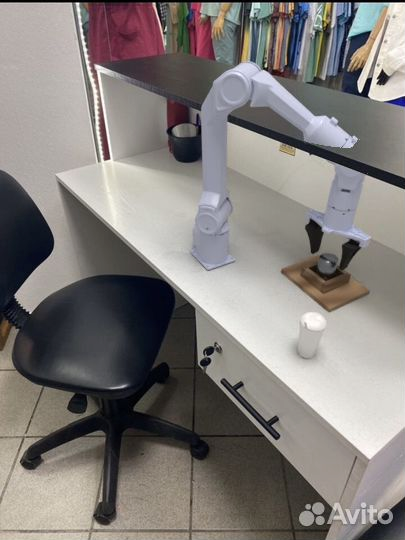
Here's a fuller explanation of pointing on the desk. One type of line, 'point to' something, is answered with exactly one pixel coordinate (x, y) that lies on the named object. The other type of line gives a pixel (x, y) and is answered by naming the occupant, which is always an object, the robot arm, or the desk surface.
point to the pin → (327, 266)
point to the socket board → (325, 284)
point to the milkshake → (310, 333)
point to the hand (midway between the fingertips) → (328, 259)
